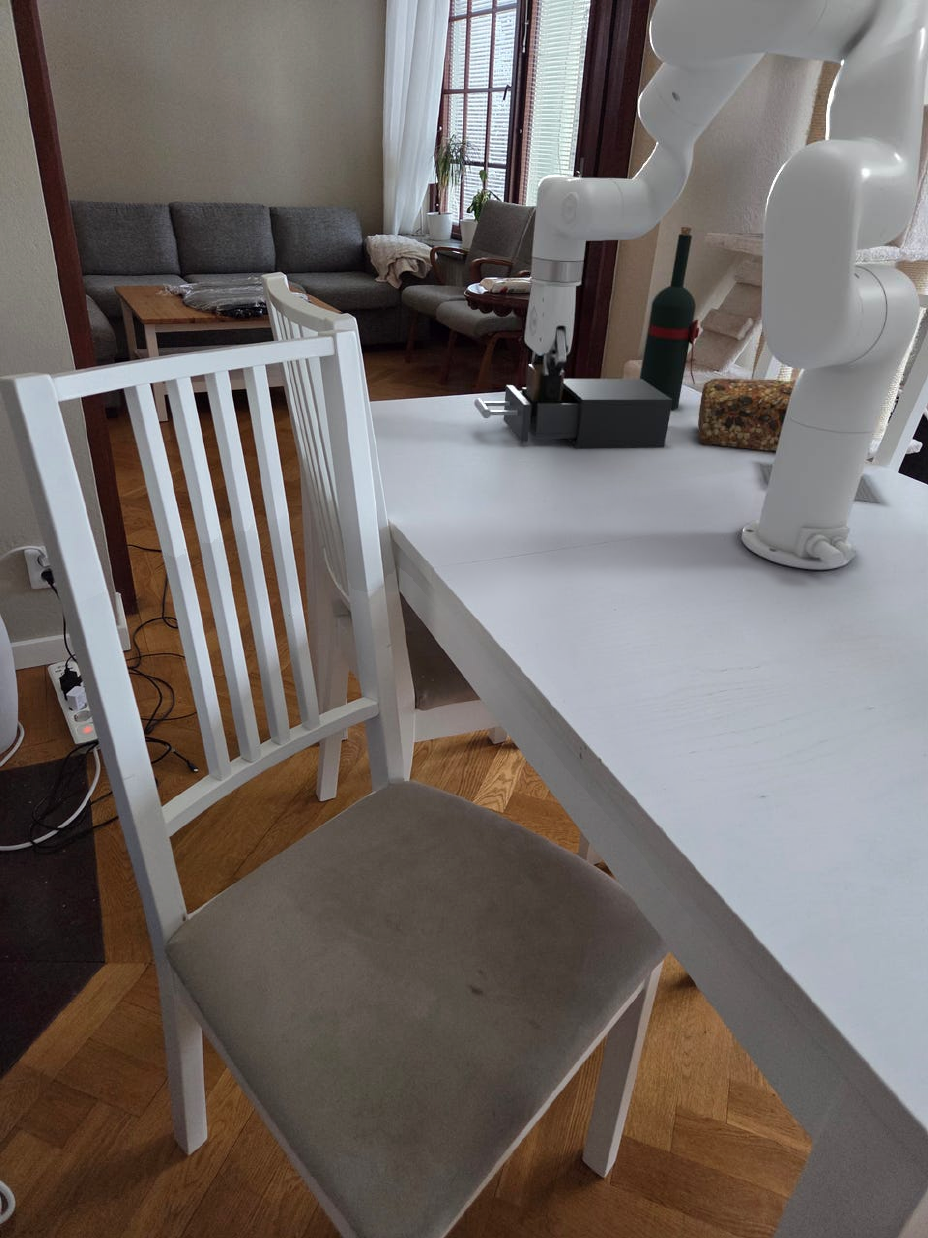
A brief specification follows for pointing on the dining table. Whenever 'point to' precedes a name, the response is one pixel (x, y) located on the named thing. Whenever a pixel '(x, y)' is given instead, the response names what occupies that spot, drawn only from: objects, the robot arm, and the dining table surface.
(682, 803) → the dining table surface
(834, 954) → the dining table surface
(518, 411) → the drawer
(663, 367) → the wine bottle
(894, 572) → the dining table surface
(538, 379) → the block
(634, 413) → the cabinet
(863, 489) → the architectural model
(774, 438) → the bread
